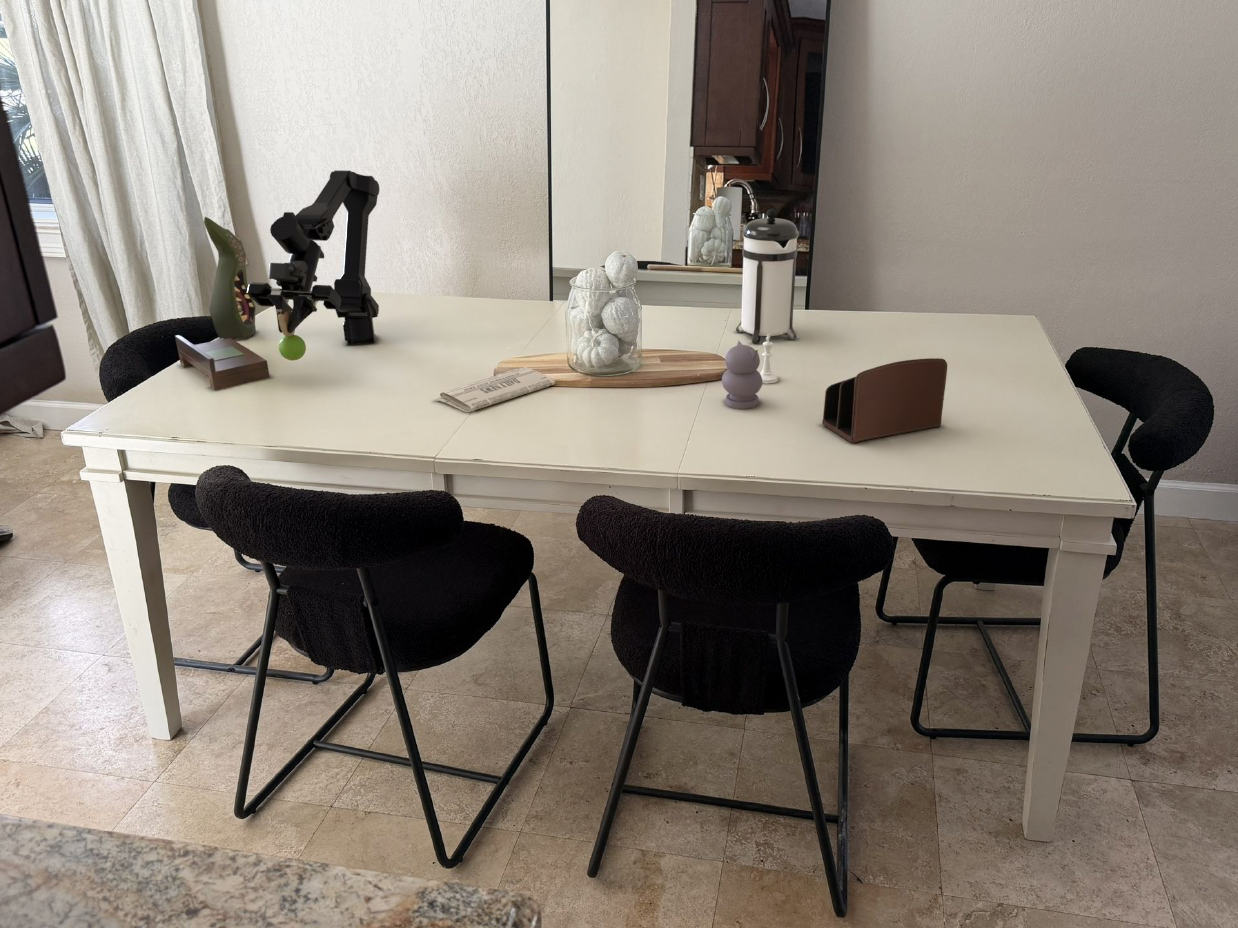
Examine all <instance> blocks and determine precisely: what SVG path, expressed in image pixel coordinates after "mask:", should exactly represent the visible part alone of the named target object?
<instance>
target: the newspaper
mask: <svg viewBox="0 0 1238 928" xmlns="http://www.w3.org/2000/svg"><path fill="white" fill-rule="evenodd" d="M555 385H556V381H555V380H554V379H553V378H552V377H549V376H547V375H545V374H544V373H541V372H540V371H537V370H534V369H532V368H530V367H527V366H524V367H520V368H513V369H511V370H507V371H505V372H502V373H499V374H497V375H494V376H490V377H488V378H484V379H481V380H478V381H476V382H472V383H468V384H466V385H461V386H459V387H455V388H452V389H449V390H446V391H442V392H441V393H439V397H441V398H439V399H436V402H437V401H440V402H443V403H446V404H448V405H450V406H452V407H454V408H456V409H457V410H460V411H463V412H465V413H471V412H473V411H477V410H480V409H483V408H486V407H490V406H493V405H496V404H498V403H499V404H500V403H502V402H505V401H508V400H511V399H515V398H517V397H521V396H524V395H527V394H530V393H532V392H536V391H539V390H542V389H545V388H549V387H552V386H555Z"/></svg>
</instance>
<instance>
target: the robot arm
mask: <svg viewBox="0 0 1238 928" xmlns="http://www.w3.org/2000/svg"><path fill="white" fill-rule="evenodd" d="M379 194H380V184H379V182H378V180H376V179H375V177H374V176H373V175H364V174H359V173H356V172H354V171H352V170H344V169H343V170H339V169H337V170H335V169H334V170H333V171H331V172H330V174H329V178H328V181H327V182H326V184H325V185H324V187H323V188H322V190H321V191H320V192H319V194H318V196H317V197H316V198H315V200H314V202H313V203H312V204H310V205H308V206H306V207H303V208H302V209H300V211H299V212H297V214H295V213H294V212H292V211H291V212H290V211H284V212H283V215H282V216H281V217H279V218H277V219H275V220H274V222H273V223H272V224H271V225H270V229H269V231H270V232H269V233H270V235H271V237H272V238H273V239H274V240H275V241H276V242H277V244H278V245H279V247H281V248H282V249H283V251H284V252H285V253H287V254H290V255H289V259H288V262H269V265H268V280H275V284H276V285H277V287H272V286H271V285H270V284H269V283H268V282H255V281H254V282H251V283H249V284H248V289H247V294H248V295H249V296H250V297H251V298H252V299H253V301H254V303H255V304H257V305H258V306H260V307H272V308H273V307H274V308H275V313H276V320H277V328H278V332H279V333H281V334H283V332H282V330H281V327H280V324H279V320H278V315H279V314H283V315H284V313H285V312H287V311H290V312H292V313H291V316H290V320H289V323H288V329H287V331H288V332H289V333H292V332H293V331H294V330H295V331H296V329H297V328H298V327H299V325H300V324H302V323H303V322H304V320H306V319H307V318H308V317H309V316H311V315H312V313H317V311H318V308H317V304H318V303H319V302H323V304H322V305H323V307H324V308H325V309H326V310H335V314H336V316H337V319H343V318H344V321H343V323H342V329H343V336H344V341H346V345H347V346H354V345H370V344H372V345H373V344H375V343H376V337H377V336H376V333H375V328H374V327H375V325H374V319H375V318H378V317H379V313H380V312H379V311H380V309H379V308H380V306H379V303H378V302H377V301H376V300H375V298H374V297H373V296H372V288H371V286H370V284H369V282H368V280H367V278H366V264H367V263H366V262H367V249H368V247H367V246H368V245H367V244H368V234H369V233H368V231H369V217H370V215H371V213H372V212H373V211H374V209H375V208H376V206H377V203H378V197H379ZM342 204H343V206H344V208H345V210H346V212H347V213H346V227H345V228H346V229H345V243H344V244H345V245H344V259H343V273H342V275H341V276H340V278H336V279H335V280H334V283H333V286H332V285H329V284H314V285H313V283H316V282H317V281H318V276H317V275H316V273H317V268H318V264H319V260H320V259H325V253H324V252H323V251H324V250H322V247H321V245H319V244H318V243H317V241H321V242H326V241H328V240H329V239H330V238H331V236H332V234H333V231H334V230H335V229H334V228H335V224H334V221H333V219H334V217H335V215H336V214H337V212H338V211H339V209H340V207H341V206H342ZM280 287H281V288H280ZM291 300H292V307H291V305H289V301H291ZM277 309H278V310H280V309H281V310H282V312H278V313H277V312H276V310H277Z"/></svg>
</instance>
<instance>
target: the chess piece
mask: <svg viewBox="0 0 1238 928" xmlns="http://www.w3.org/2000/svg"><path fill="white" fill-rule="evenodd" d="M770 339H771V336H769V334H767V336H766V337H765V341H763V343H762V346H763V350H764V352H762V354H761V356H762V357H764V360H763V365H762V370H761V371H760V372H759V373H760V375H761V377H762V381H763V383H762V384H765V385H766V384H767V385H769V384H775V383H777V382H778V381H779V379H778V375H777V374H775V373H773V371H772V370H771V363H770V361H771V360H770V359H771V358H770V357H772V356H773V353H772V352H771V350H772V348H773V344H774V343H773V342H772V341H770Z"/></svg>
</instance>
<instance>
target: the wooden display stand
mask: <svg viewBox="0 0 1238 928" xmlns="http://www.w3.org/2000/svg"><path fill="white" fill-rule="evenodd" d="M174 338H175V344H176V348H177V353H178V359H179V362H180V366H181V367H183V369H184V368H190V367H195V368H196V369H198V370H199V371H201V372H202V373H203V374H205V375H206V376H207V377H208V379H209V385H210V388H211V389H212V390H213V391H219V390H223V389H227V388H232V387H236V386H241V385H245V384H248V383H253V382H258V381H263V380H266V379H270V378H271V376H270V371H269V365H268V360H267V359H266V358H264V357H262V356H261V355H259V354H257V353H256V352H254V351H252V350H251V349H250V348H248V347H246V346H244V345H243V344H242V343H240V342H238V341H236V339H231V338H227V339H223V338H221V339H217V340H213V341H212V340H211V341H208V342H204V343H198V344H193V343H192V342H190V341H189V340H187V339H186V338H185V337H183V336H182V335H181V334H177V335H174Z"/></svg>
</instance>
